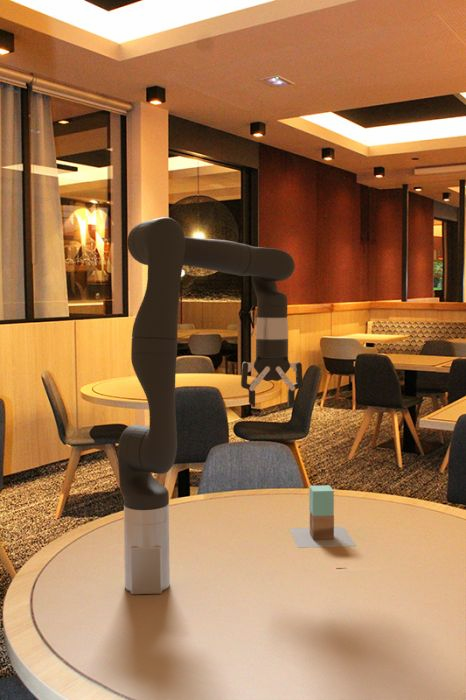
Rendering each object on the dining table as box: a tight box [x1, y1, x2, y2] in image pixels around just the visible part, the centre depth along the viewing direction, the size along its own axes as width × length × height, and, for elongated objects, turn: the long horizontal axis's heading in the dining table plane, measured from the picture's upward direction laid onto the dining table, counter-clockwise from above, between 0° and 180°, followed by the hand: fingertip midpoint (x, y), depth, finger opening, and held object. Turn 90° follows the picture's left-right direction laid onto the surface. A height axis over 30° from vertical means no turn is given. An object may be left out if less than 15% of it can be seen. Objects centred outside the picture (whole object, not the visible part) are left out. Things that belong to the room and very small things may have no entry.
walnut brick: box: [309, 511, 335, 540], centre depth 173 cm, size 5×5×6 cm
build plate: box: [289, 526, 357, 549], centre depth 174 cm, size 14×14×1 cm
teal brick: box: [308, 485, 335, 516], centre depth 173 cm, size 5×5×6 cm
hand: (271, 406), depth 166 cm, fingers open, 8 cm apart
